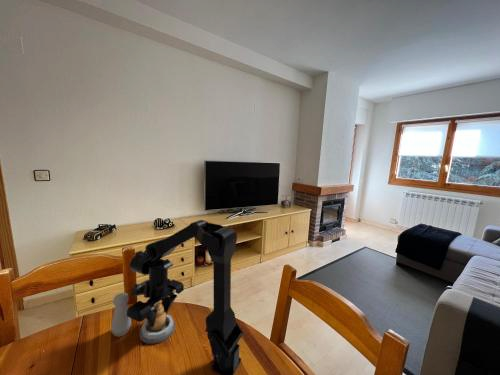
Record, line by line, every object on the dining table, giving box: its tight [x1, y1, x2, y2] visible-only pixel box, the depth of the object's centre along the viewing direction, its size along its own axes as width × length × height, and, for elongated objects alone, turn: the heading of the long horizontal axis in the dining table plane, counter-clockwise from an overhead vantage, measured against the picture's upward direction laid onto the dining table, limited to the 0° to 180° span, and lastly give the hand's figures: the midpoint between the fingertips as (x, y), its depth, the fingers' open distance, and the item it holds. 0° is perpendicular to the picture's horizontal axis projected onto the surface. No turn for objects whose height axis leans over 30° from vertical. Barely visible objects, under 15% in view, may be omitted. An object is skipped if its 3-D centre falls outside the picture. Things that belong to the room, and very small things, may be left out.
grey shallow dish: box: [139, 314, 176, 345], centre depth 72 cm, size 11×11×2 cm
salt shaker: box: [110, 292, 132, 338], centre depth 70 cm, size 6×6×13 cm
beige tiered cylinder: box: [150, 303, 166, 330], centre depth 72 cm, size 5×5×7 cm
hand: (158, 321), depth 72 cm, fingers closed on beige tiered cylinder, 5 cm apart
